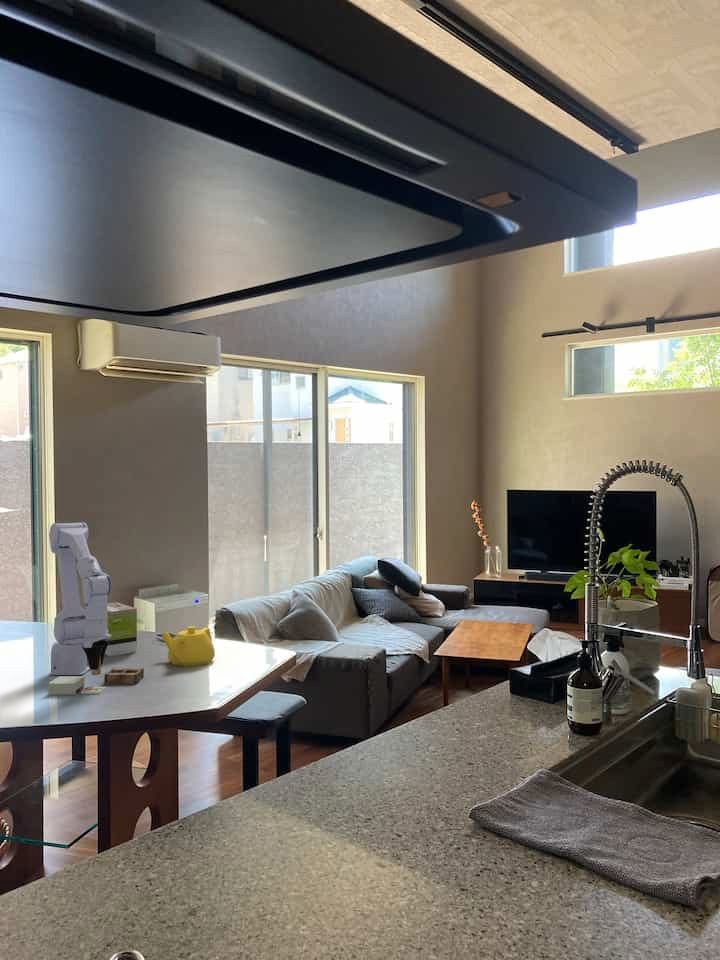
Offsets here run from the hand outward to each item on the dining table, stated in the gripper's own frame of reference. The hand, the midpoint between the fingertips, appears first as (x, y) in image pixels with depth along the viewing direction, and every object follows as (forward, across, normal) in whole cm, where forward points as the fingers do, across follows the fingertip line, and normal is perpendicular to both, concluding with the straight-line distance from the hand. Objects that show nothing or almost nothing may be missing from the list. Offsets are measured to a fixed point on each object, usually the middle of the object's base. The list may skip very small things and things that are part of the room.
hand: (95, 667), depth 210 cm
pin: (+2, 0, 0) cm, 2 cm away
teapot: (+5, +27, -19) cm, 33 cm away
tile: (+4, -7, -2) cm, 8 cm away
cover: (+5, -7, +6) cm, 10 cm away
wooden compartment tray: (+5, +4, -7) cm, 9 cm away
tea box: (+5, +41, +8) cm, 42 cm away
